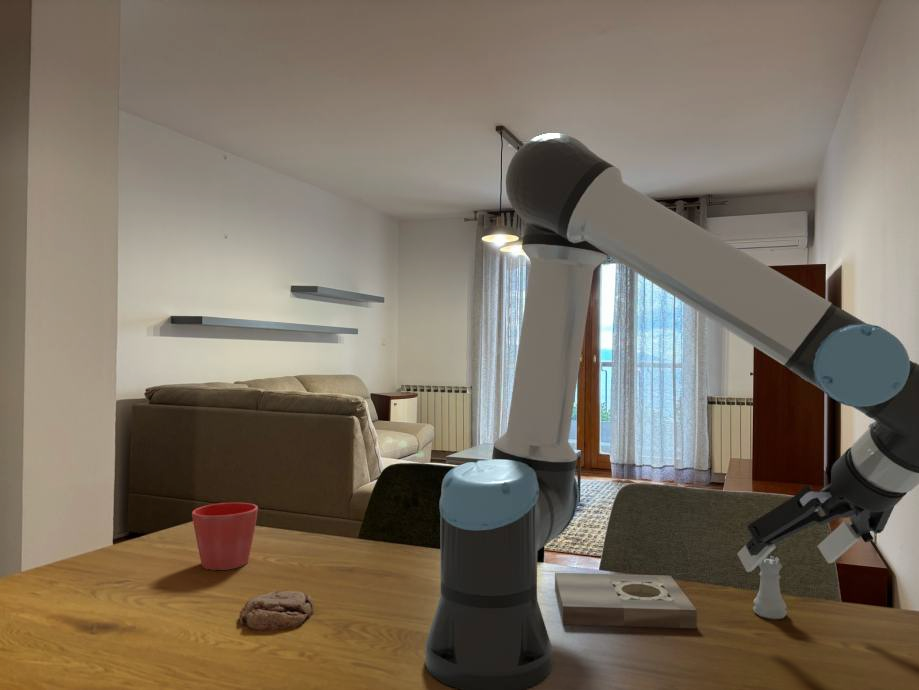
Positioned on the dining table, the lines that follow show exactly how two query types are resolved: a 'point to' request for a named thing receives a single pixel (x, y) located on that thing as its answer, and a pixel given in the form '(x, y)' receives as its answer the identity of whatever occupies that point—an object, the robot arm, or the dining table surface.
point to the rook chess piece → (770, 591)
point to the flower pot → (224, 534)
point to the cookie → (276, 610)
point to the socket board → (623, 601)
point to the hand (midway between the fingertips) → (785, 558)
